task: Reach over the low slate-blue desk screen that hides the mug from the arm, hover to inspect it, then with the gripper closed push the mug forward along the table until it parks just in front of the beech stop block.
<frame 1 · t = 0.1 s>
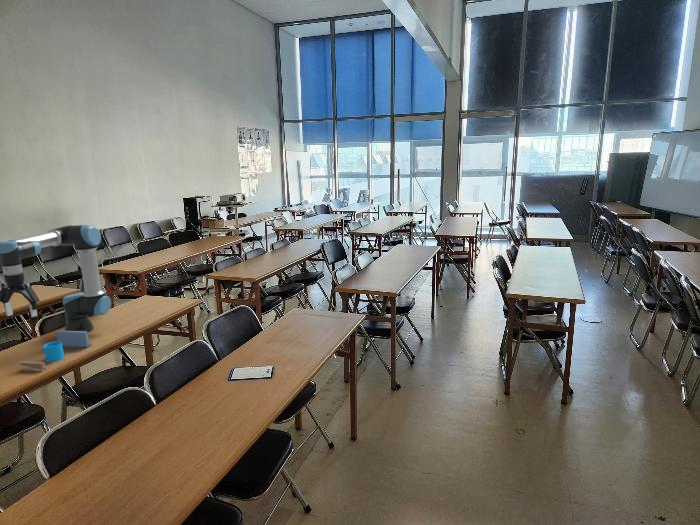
hand: (22, 315, 218), 28 cm above the table, fingers open, 13 cm apart
stop block: (33, 369, 223), on the table
screen: (74, 346, 250), on the table
mug: (56, 357, 237), on the table
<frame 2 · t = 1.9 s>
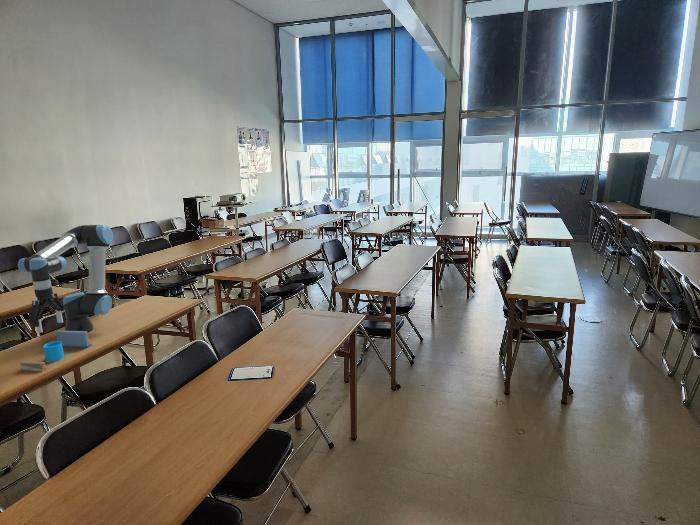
hand: (50, 327, 233), 17 cm above the table, fingers open, 13 cm apart
nothing on the table moved.
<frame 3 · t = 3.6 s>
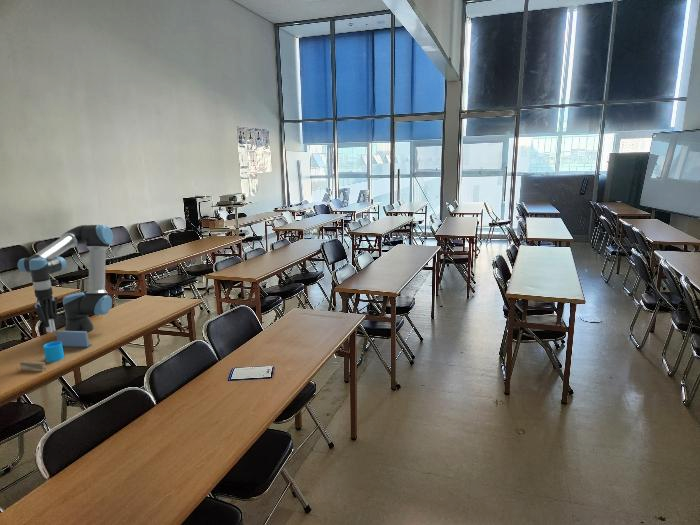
hand: (51, 331, 234), 14 cm above the table, fingers closed
nothing on the table moved.
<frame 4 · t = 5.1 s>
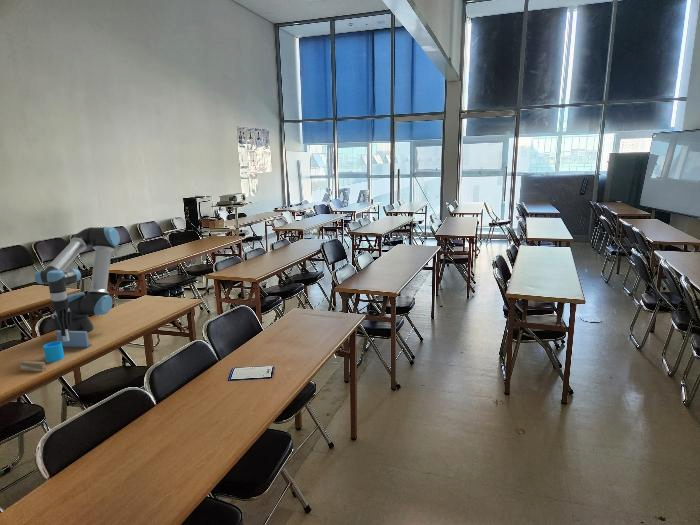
hand: (66, 340, 244), 6 cm above the table, fingers closed
nothing on the table moved.
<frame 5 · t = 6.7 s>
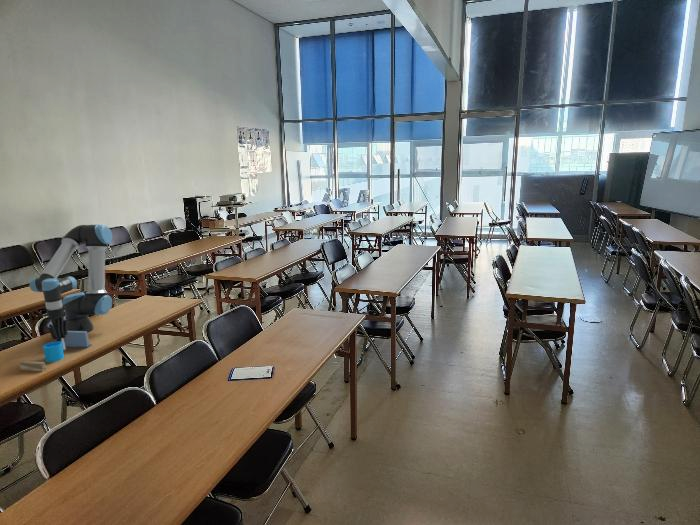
hand: (62, 349, 241), 2 cm above the table, fingers closed
mug: (56, 357, 237), on the table, touching gripper
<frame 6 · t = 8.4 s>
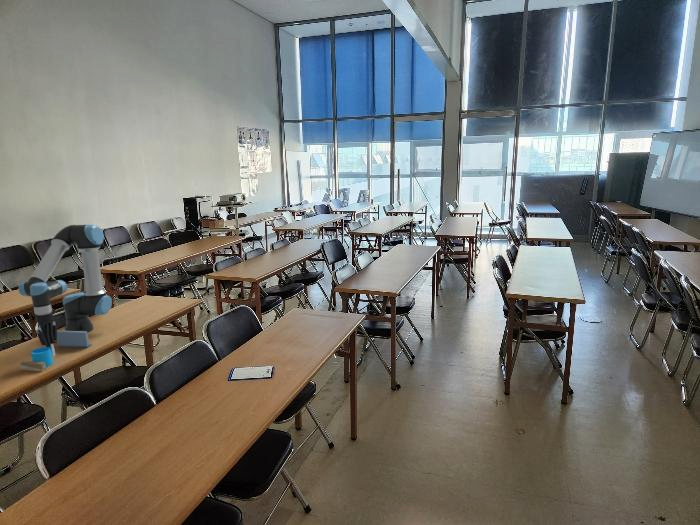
hand: (52, 355, 234), 2 cm above the table, fingers closed
mug: (44, 364, 230), on the table, touching gripper
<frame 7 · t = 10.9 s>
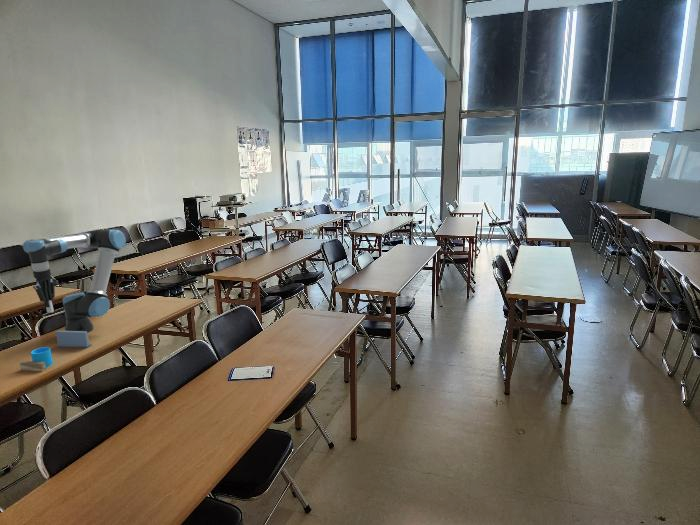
hand: (50, 312, 240), 22 cm above the table, fingers closed
mug: (44, 364, 230), on the table
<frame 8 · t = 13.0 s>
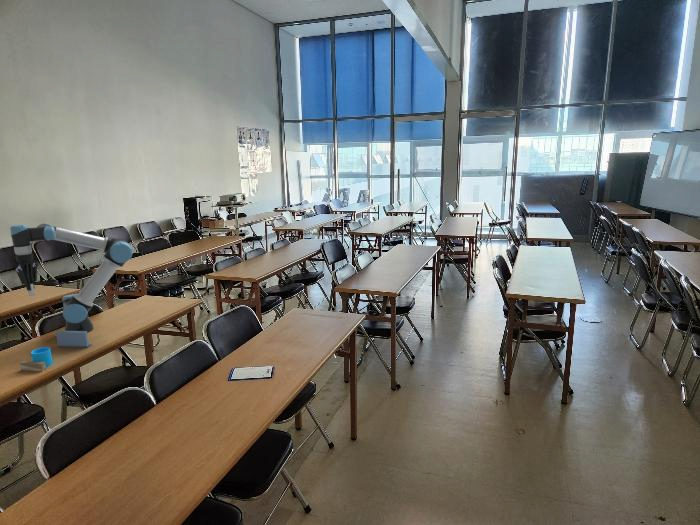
hand: (32, 295, 247), 29 cm above the table, fingers closed
nothing on the table moved.
at the end: mug inside the target area (1.1 cm from its centre), on the table; mug tilted 0°; mug moved 7.7 cm from its start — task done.
